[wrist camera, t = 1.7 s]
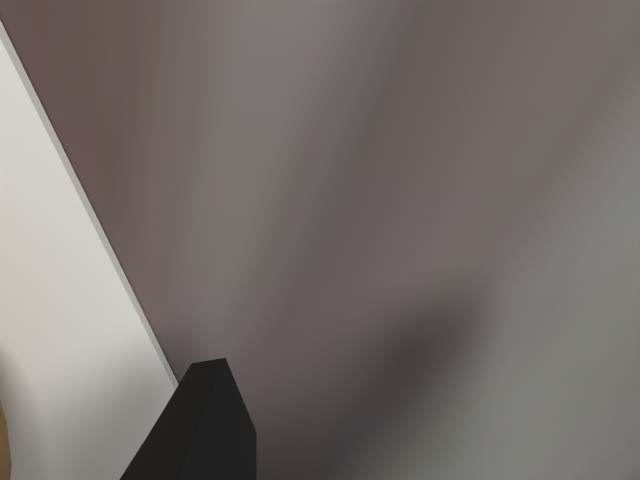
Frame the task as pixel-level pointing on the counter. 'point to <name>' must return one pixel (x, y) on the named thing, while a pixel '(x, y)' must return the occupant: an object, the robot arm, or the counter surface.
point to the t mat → (65, 311)
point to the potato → (4, 448)
